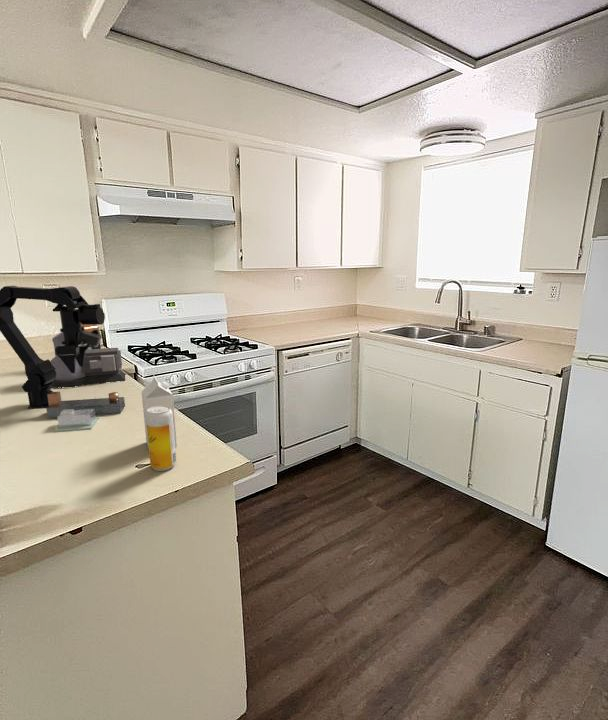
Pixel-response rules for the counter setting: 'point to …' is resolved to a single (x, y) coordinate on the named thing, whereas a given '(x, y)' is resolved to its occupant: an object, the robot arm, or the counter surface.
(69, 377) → the juicer
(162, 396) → the milk carton
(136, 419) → the counter surface
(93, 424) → the mat
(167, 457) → the beer can
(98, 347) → the whiskey bottle
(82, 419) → the lever cap
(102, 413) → the hand plane
